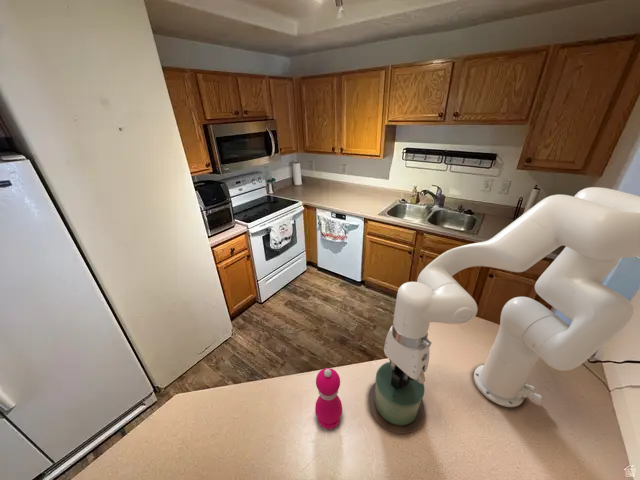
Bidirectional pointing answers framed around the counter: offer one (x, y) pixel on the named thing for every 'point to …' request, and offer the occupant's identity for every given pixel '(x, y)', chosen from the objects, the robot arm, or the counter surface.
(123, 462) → the counter surface
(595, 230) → the robot arm
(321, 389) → the pepper mill
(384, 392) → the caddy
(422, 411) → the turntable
